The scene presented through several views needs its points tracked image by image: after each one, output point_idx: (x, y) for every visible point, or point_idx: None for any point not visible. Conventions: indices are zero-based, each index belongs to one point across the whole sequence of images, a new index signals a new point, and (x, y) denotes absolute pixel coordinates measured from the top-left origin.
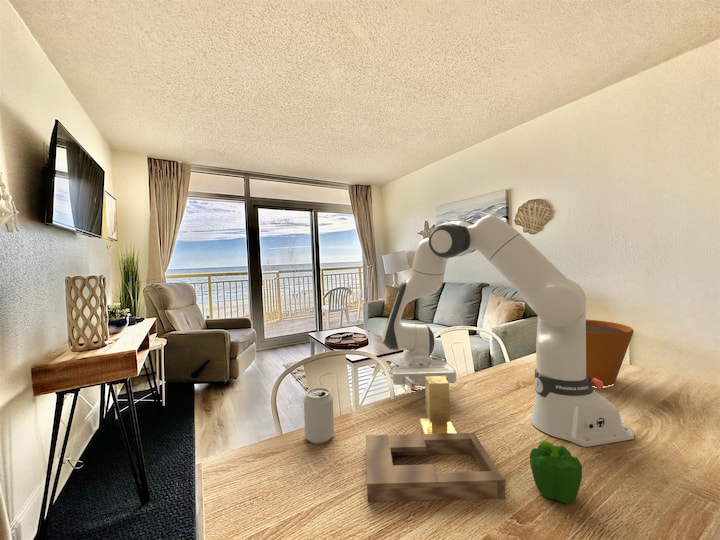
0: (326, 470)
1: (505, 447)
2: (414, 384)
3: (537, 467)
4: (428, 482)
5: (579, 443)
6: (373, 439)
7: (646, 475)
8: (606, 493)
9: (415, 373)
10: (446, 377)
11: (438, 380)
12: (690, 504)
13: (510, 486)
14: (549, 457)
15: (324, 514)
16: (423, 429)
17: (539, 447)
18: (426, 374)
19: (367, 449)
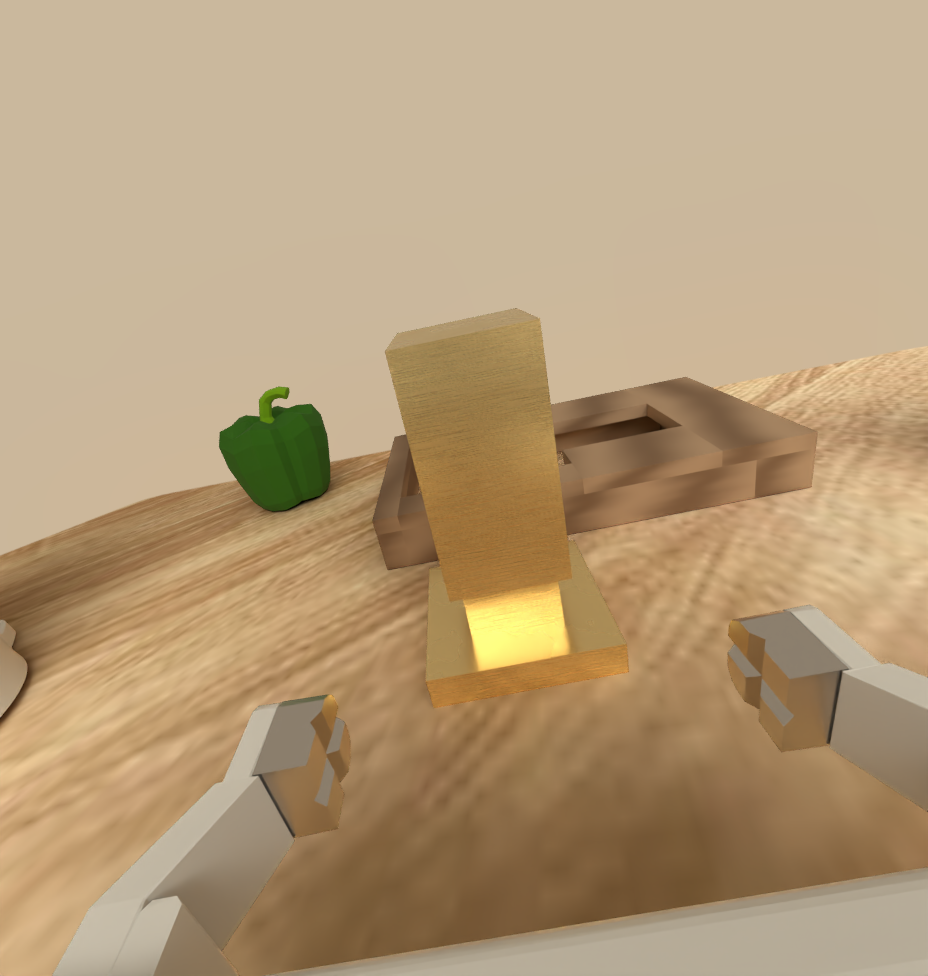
0: (867, 425)
1: (276, 588)
2: (734, 633)
3: (322, 422)
4: (554, 404)
5: (11, 630)
6: (767, 429)
7: (42, 567)
8: (198, 516)
9: (896, 881)
10: (132, 878)
11: (449, 326)
12: (90, 527)
13: (375, 491)
14: (290, 407)
15: (756, 391)
16: (588, 569)
17: (273, 428)
18: (548, 932)
19: (754, 408)
